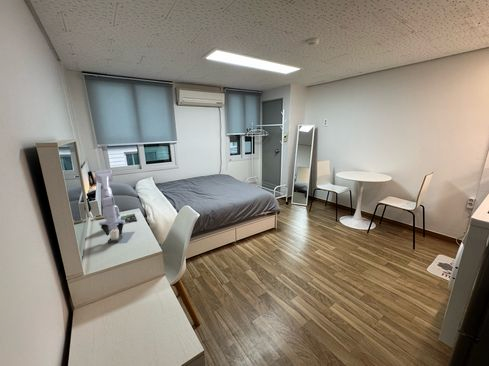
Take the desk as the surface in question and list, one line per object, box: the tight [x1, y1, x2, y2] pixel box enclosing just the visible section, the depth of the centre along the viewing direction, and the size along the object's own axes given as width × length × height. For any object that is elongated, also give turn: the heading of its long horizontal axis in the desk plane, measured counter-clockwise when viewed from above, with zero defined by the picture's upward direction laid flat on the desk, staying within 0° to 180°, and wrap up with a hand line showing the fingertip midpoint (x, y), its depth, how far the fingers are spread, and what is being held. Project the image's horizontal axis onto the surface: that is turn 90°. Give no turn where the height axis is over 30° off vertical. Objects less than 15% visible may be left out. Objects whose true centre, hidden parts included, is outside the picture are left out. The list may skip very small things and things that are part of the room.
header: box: [107, 235, 123, 245], centre depth 137 cm, size 7×6×2 cm
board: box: [106, 231, 136, 245], centre depth 140 cm, size 15×12×2 cm
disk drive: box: [120, 213, 138, 225], centre depth 168 cm, size 10×3×15 cm
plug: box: [109, 229, 119, 240], centre depth 136 cm, size 4×3×7 cm
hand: (114, 234), depth 136 cm, fingers open, 7 cm apart
